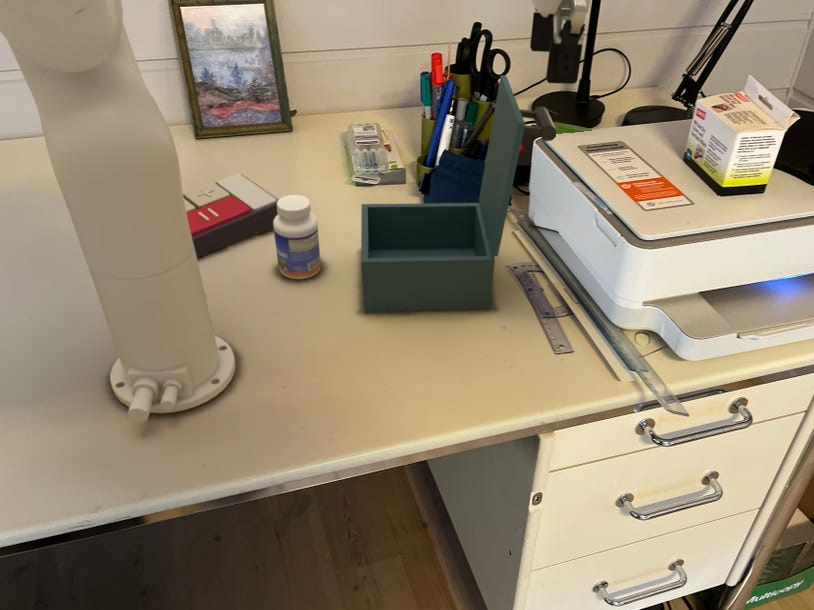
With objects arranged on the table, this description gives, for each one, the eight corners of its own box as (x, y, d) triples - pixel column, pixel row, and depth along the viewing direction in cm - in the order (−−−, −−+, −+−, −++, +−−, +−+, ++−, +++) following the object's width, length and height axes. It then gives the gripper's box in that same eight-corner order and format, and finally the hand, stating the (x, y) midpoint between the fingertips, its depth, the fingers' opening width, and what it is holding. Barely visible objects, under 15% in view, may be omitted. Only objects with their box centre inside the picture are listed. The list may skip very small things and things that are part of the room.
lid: (518, 122, 78) (569, 128, 79) (500, 75, 88) (545, 80, 89) (492, 256, 88) (537, 259, 89) (478, 199, 98) (519, 203, 100)
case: (364, 312, 91) (361, 261, 87) (364, 252, 102) (361, 203, 97) (490, 309, 93) (494, 259, 89) (478, 250, 104) (481, 202, 99)
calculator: (140, 204, 101) (239, 167, 108) (149, 232, 104) (245, 194, 111) (180, 238, 95) (281, 196, 103) (189, 266, 98) (286, 223, 106)
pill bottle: (275, 261, 99) (265, 194, 92) (316, 254, 100) (309, 188, 94) (284, 284, 95) (274, 216, 89) (326, 276, 97) (320, 209, 90)
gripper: (521, -136, 76) (506, 39, 87) (554, -106, 63) (531, 95, 74) (593, -132, 77) (569, 41, 88) (639, -101, 64) (605, 97, 75)
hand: (552, 65), depth 81 cm, fingers open, 9 cm apart
